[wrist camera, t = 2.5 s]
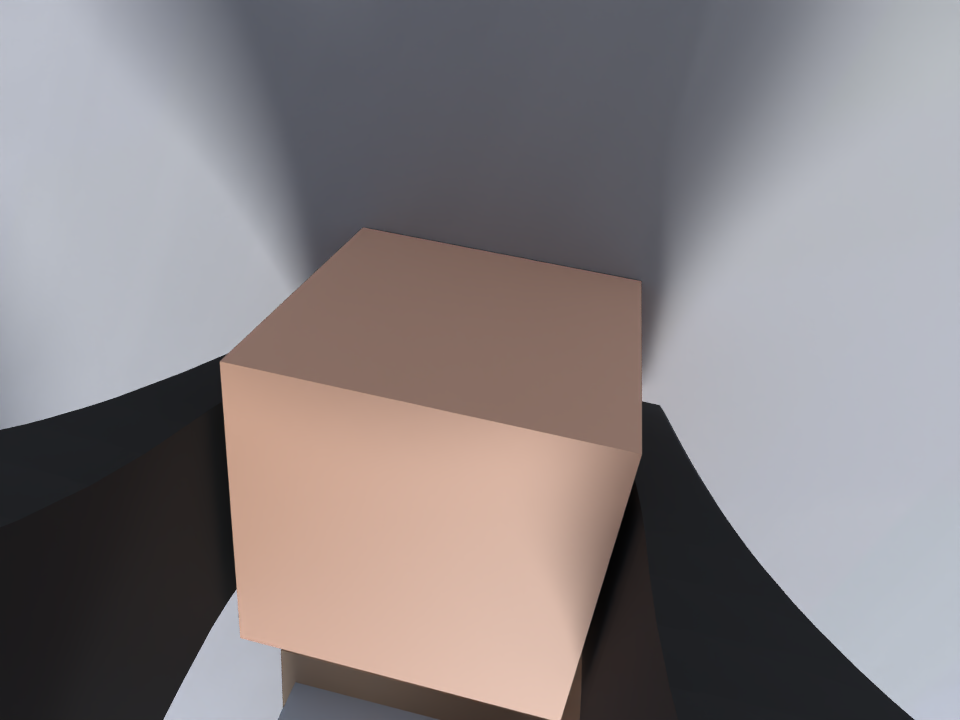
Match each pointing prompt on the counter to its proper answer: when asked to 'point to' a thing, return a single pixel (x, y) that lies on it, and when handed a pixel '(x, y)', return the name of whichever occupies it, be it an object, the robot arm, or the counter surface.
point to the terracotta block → (435, 465)
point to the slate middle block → (337, 707)
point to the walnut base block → (405, 691)
